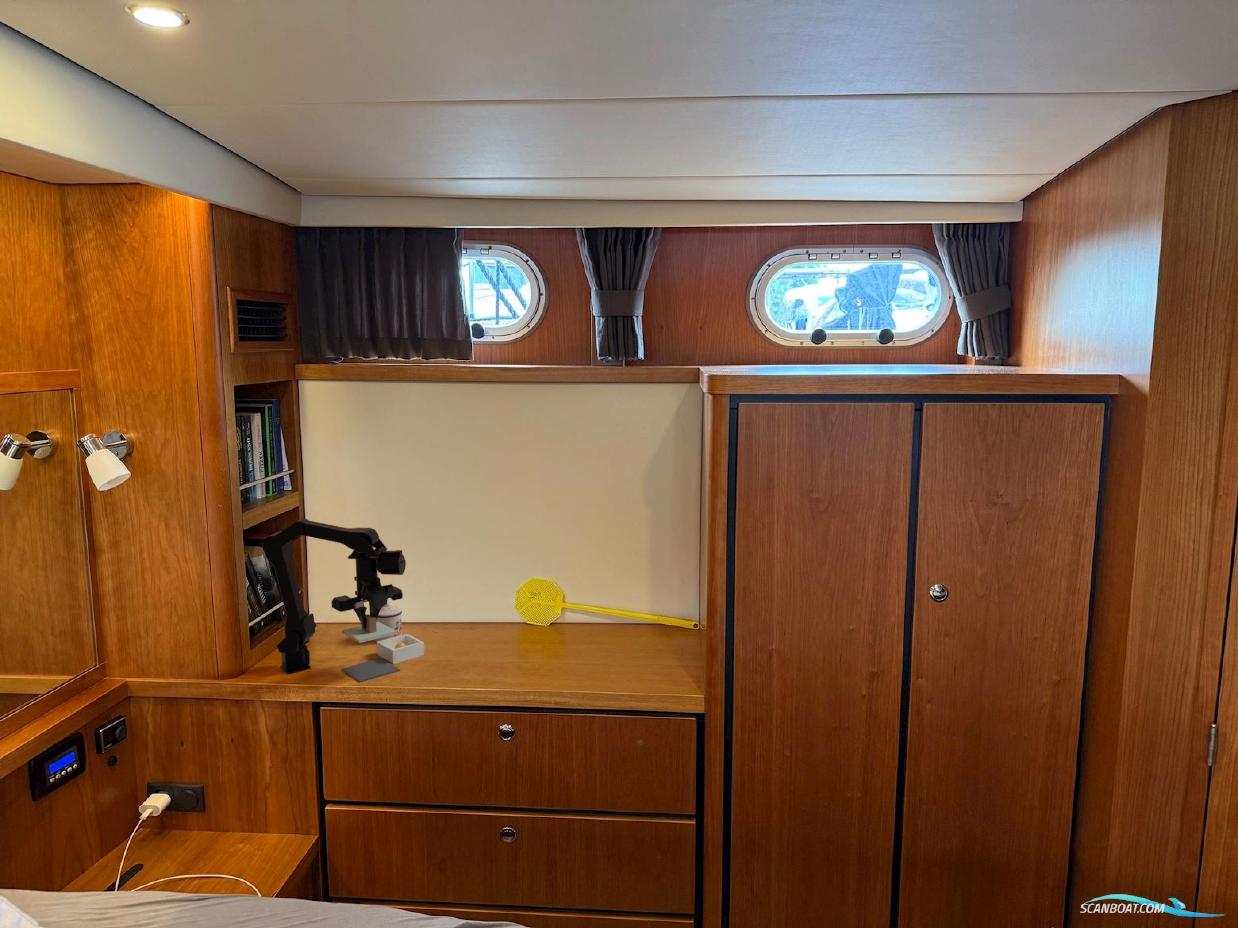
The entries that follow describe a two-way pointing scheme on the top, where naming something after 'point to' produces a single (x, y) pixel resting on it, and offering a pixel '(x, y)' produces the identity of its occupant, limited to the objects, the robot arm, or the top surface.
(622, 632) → the top surface
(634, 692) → the top surface
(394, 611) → the teacup with lid
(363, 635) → the lid
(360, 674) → the mat
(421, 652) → the dish
